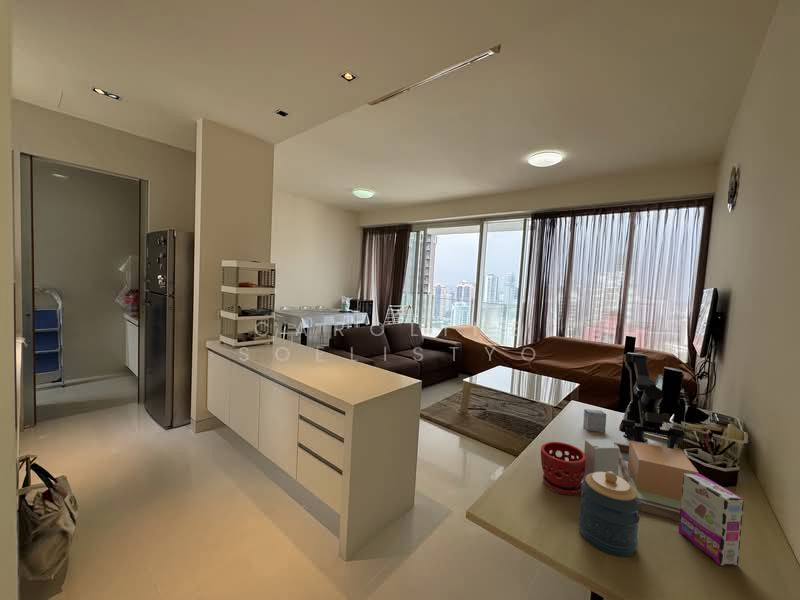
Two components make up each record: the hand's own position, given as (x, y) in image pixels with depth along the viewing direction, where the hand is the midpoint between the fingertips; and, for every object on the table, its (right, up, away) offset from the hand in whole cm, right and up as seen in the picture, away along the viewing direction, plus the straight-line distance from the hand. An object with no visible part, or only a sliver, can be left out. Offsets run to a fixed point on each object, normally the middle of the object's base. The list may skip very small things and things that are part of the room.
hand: (654, 453), depth 118 cm
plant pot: (-38, -6, -10) cm, 40 cm away
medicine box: (-1, -5, +35) cm, 36 cm away
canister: (-37, -7, -32) cm, 49 cm away
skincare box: (-25, -7, -10) cm, 28 cm away
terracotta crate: (-4, -7, -7) cm, 10 cm away
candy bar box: (-13, -8, -34) cm, 37 cm away
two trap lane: (-3, -7, -6) cm, 10 cm away
